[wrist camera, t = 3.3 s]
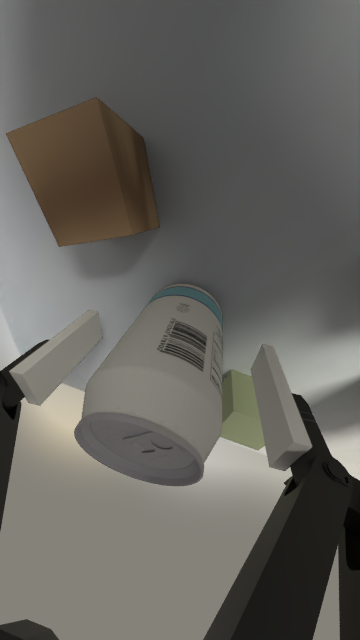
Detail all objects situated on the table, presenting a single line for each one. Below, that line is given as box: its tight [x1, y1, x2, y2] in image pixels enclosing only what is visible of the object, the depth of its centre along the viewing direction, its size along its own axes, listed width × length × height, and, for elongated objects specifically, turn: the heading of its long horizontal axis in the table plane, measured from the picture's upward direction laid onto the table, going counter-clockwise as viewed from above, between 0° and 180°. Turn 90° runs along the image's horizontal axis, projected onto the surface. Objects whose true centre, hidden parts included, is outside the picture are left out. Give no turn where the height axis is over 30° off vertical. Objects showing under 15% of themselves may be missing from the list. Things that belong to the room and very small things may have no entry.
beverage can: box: [74, 284, 223, 486], centre depth 12 cm, size 7×7×12 cm
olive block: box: [220, 369, 265, 450], centre depth 19 cm, size 5×5×5 cm
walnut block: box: [6, 97, 160, 247], centre depth 11 cm, size 5×5×5 cm
